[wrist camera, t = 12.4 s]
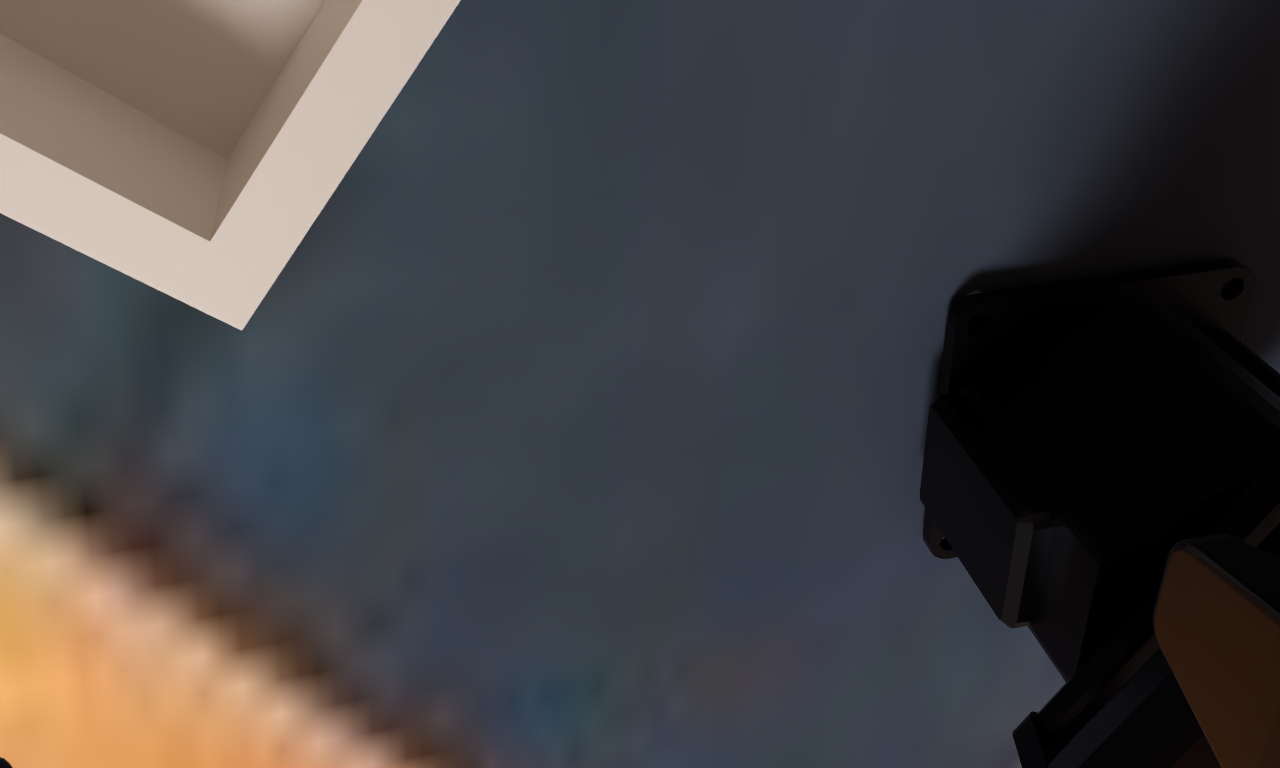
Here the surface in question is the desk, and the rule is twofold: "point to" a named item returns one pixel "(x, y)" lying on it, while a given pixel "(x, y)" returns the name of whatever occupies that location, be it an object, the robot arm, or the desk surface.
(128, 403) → the desk surface
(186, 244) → the tray
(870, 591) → the desk surface
